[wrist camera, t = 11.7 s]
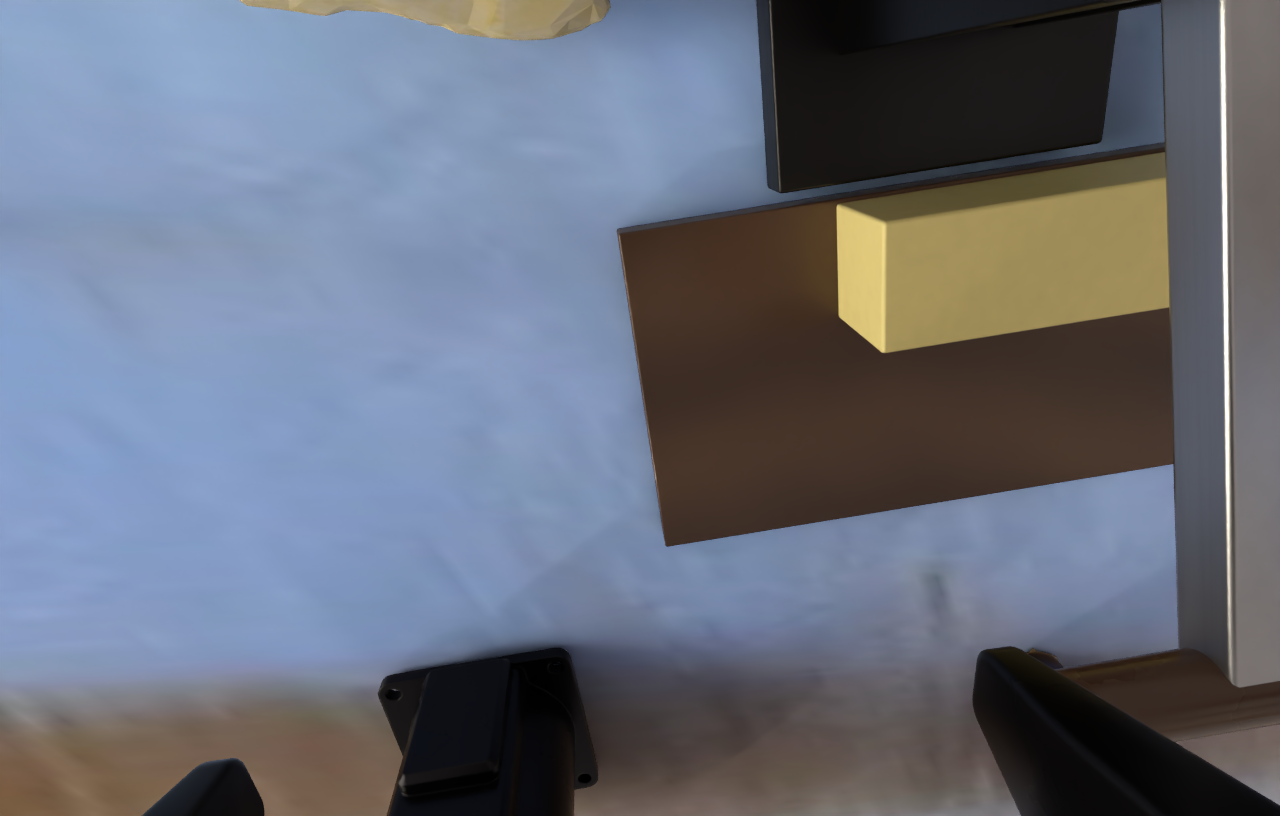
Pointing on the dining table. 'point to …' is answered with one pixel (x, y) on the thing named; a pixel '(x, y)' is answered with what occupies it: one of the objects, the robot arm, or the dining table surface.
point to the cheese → (470, 14)
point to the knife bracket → (928, 83)
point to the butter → (1005, 254)
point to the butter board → (862, 380)
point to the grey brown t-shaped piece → (1218, 378)
